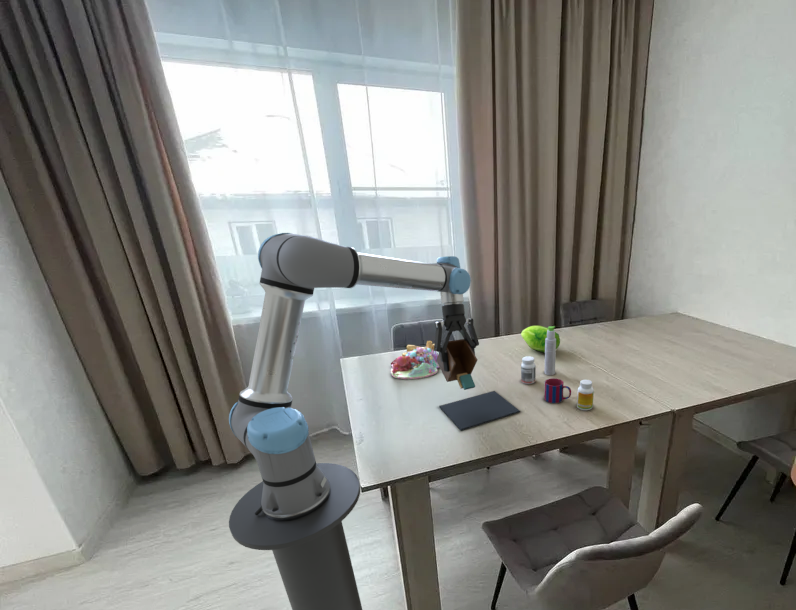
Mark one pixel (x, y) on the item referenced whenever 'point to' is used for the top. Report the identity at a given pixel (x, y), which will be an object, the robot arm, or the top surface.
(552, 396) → the mug
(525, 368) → the pill bottle
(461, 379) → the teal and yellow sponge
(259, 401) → the robot arm
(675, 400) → the top surface
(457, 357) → the open wooden box
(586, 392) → the supplement bottle
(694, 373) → the top surface
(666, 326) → the top surface
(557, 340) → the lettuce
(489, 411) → the mat
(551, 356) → the bottle
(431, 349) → the candy landscape model
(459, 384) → the block
